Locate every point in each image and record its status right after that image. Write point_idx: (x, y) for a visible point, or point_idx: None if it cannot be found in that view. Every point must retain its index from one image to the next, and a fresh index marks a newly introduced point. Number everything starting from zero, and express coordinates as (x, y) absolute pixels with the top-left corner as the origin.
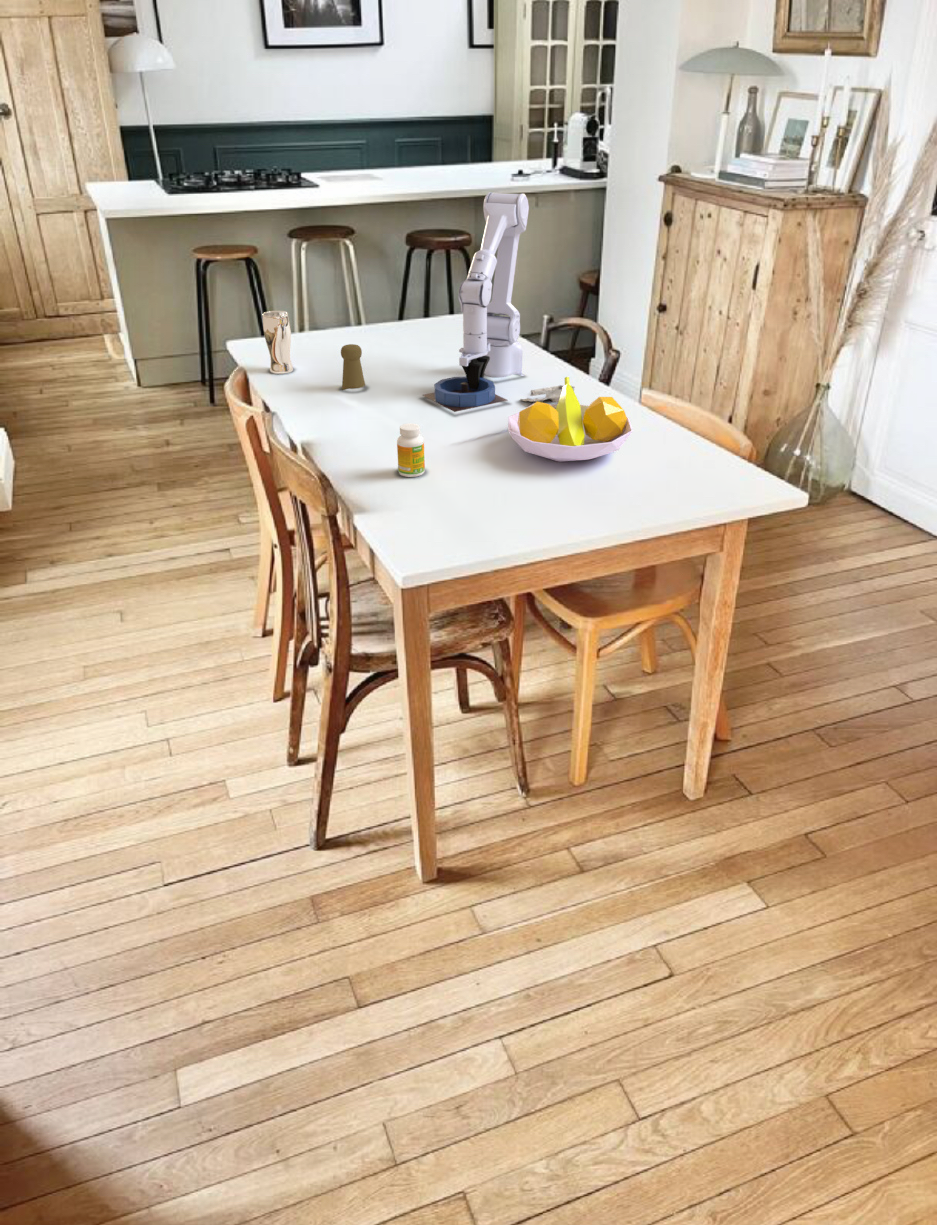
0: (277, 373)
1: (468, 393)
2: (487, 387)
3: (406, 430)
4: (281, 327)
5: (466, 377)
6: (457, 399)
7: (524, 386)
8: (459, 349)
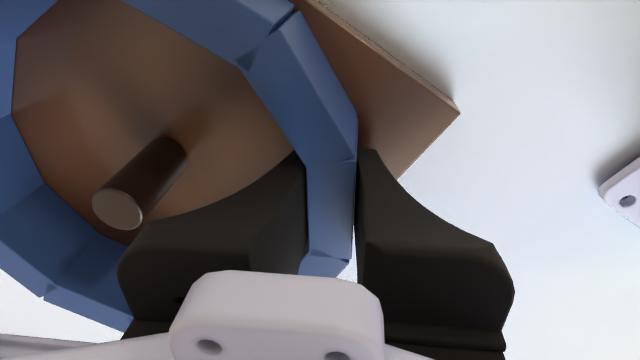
0: None
1: (17, 266)
2: None
3: None
4: None
5: (308, 150)
6: None
7: (537, 322)
8: (185, 328)
